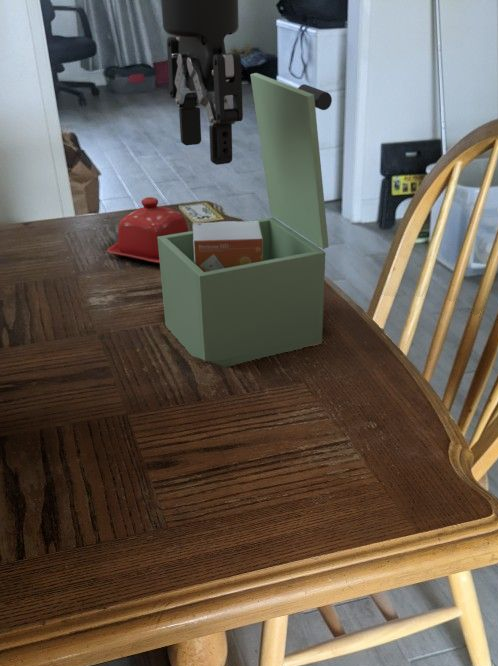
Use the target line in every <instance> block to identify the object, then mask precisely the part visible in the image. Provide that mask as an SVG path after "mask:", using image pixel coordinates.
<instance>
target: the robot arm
mask: <svg viewBox="0 0 498 666" xmlns="http://www.w3.org/2000/svg"><path fill="white" fill-rule="evenodd" d="M160 2H161V3H160V4H161V18H162V28H163V30H164V32H165V33H166V34H168V35H171V36H168V37H167V38H166V48H167V69H168V70H167V71H168V94H169V97H170V98H171V99H174V100H175V103H174V104H175V106H176V108H177V109H178V116H179V132H180V133H179V135H180V142H181V143H182V144H183V145H184V146H194V145H200V143H201V142H202V125H201V123H202V121H201V108H200V107H199V106H200V105H201V106H203V107H204V108H205V111H206V115H207V119H208V122H209V126H208V129H209V132H208V133H209V155H210V162H211V163H213V164H214V165H216V166H218V165H225V164H226V165H227V164H230V163H232V162H233V125H235V124H236V123H237V122H242V121H243V119H244V111H243V110H244V109H243V108H244V107H243V84H242V79H243V78H242V59H241V56H240V55H241V54H240V53H227V51H226V44H225V38H226V36H229V35H233V34H236V33H237V32H238V30H239V26H240V25H239V0H160Z"/></svg>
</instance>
